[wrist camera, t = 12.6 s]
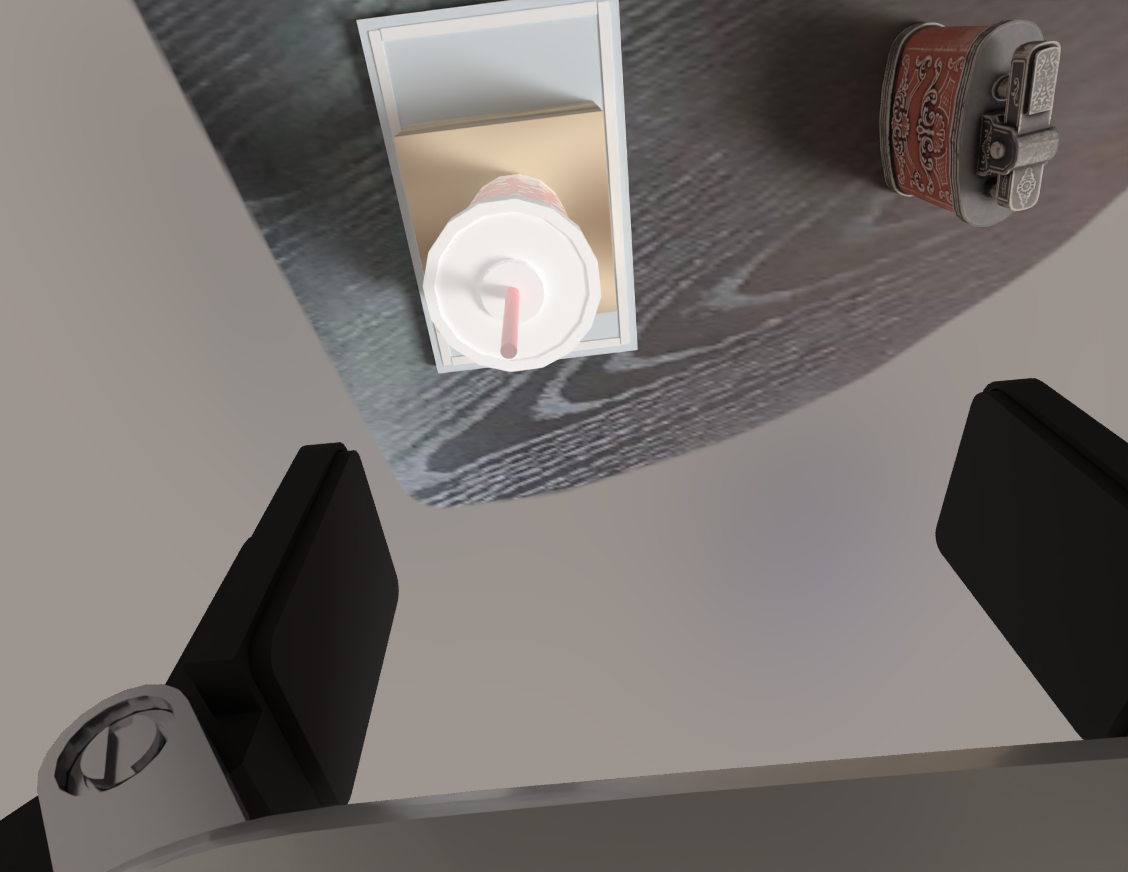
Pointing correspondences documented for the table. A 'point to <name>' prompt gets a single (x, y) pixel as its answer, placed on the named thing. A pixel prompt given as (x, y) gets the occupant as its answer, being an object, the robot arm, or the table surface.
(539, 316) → the beverage cup
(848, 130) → the table surface
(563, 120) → the maple block
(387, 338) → the table surface
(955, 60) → the lighter
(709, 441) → the table surface
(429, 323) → the white tray
